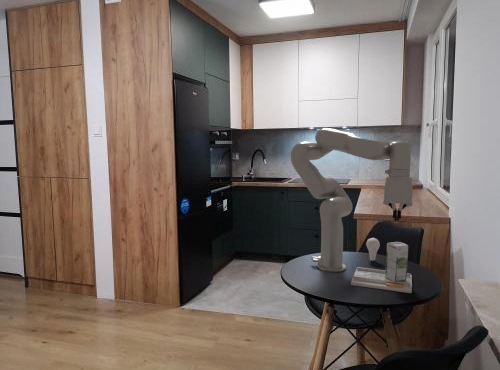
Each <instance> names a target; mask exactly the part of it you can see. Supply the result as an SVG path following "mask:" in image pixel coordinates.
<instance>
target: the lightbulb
mask: <svg viewBox="0 0 500 370" xmlns="http://www.w3.org/2000/svg"><path fill="white" fill-rule="evenodd" d="M380 243H381V242H380V241H379V240H378V239H377V238H375V237H371V238H368V239H367V240H366V243H365V245H366V248H367V250H368V255H369V260H370V261H372V262H374V261H375V260H376V256H377V253H378V250H379V248H380V245H381V244H380Z"/></svg>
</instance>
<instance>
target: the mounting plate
mask: <svg viewBox="0 0 500 370" xmlns="http://www.w3.org/2000/svg"><path fill="white" fill-rule="evenodd" d="M356 271H357V268H356V269H355V272H354V273H353V276H355V273H356ZM412 276H413V275H412V274H410V287H404V286H403V285H400V284H392V283H386V284H381V283H374V282H366V281H359V280H353V277H352V279H351V280H350V285H351V286H355V287H364V288H365V287H366V288H372V289H378V290H379V289H380V290H386V291H392V292H393V291H394V292H400V293H406V294H407V293H408V294H412V291H413V289H412V288H413V283H412V279H413V278H412Z"/></svg>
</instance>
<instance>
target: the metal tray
mask: <svg viewBox="0 0 500 370" xmlns="http://www.w3.org/2000/svg"><path fill="white" fill-rule="evenodd" d="M356 269H357V271H356V270H355V271H356V273H355V272H354V274H355V276H354V275H353V276H352V278H353V280H359V281H366V282H374V283H381V284H386V283H392V284H400V285H403V286H404V287H410V275H411V273H408V272H407V276H406V280H404V281H392V280H390V279H388V278H386V277H385V273H386V269H385V270H383V269H377V268H370V267H369V268H368V267H360V266H357V267H356Z"/></svg>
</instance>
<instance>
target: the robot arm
mask: <svg viewBox="0 0 500 370" xmlns="http://www.w3.org/2000/svg"><path fill="white" fill-rule="evenodd" d="M314 139H315V141H302V142H298V143H296V144H294V146H293V147H292V149H291V152H290V161H291V165H292V167H293V169H294V170H295V172H296V174H298V176H299V177H300V178H301V180H302V182H303V184H304V185H305V186H306V188H307V189H308V191H309V193H310V194H311V196H312V198H314V199H317V200H323V199H324V200H323V201H322V202H321V204H320V206H319V214H320V215H319V216H320V223H321V224H320V225H321V231H320V233H321V234H320V235H321V237H320V238H321V241H320V244H321V245H320V256H316V255H314V256H313V255H312V256H311V261H312V262H315V263H317V264H316V267H317V268H318V269H319V270H321V271H324V272H330V273H338V272H343V271H345V270H347V266H346V264H345V263H343V258H344V257H343V252H344V225H343V220H342V218H344V217H347V216H349V215H350V214H351V213H352V212H353V211H352V210H353V202H352V201H351V200H352V199H350V197H349V195H348V194H347V193H346V191H345V190H344V188H343V187H342V185H341V184H340V183H339V181H338V180H336V179H335V178H333V177H332V176H331V177H330V176H325V177H324V176H323V175H322V174H321V172H320V171H319V169H318V167H317V166H315V165H314V163H312V162H311V161H314V160H315V161H316V160H321V158H324V157H325V156H326V155H328V154H330V153H331V152H332V151H338V152H341V153H345V154H348V155H351V156H355V157H358V158H361V159H366V160H369V161H384V160H389V165H388V169H385V171H384V174H386V175H388V176H386V178H385V182H384V189H383V190H384V191H383V194H384V195H383V201H382V202H383V203H382V205H385V206H388V207H389V208H390V209H392V219H394V220H393V221H397V222H400V221H399V220H400V219H401V218H402V211H403V210H404V209H406V208H410V207H412V206H413V179H412V177H410V173H411V157H412V144H411V143H410V142H409V141H387V140H373V139H368V138H363V137H359V136H355V134H354V133H352V132H347V131H343V130H342V131H341V130H339V129H337V128H330V127H329V128H328V127H324V128H321V129H319V130H317V132H316V133H315V138H314ZM396 204H399V206H398V208H397V206H396Z"/></svg>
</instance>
